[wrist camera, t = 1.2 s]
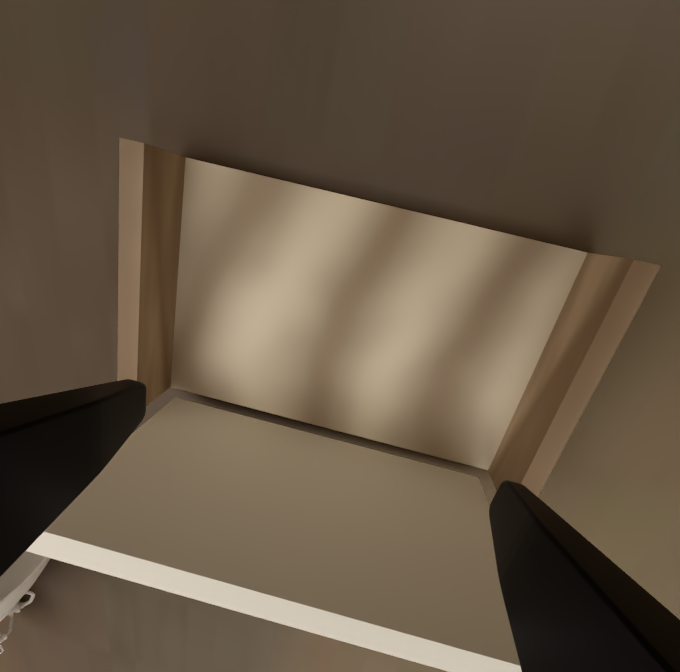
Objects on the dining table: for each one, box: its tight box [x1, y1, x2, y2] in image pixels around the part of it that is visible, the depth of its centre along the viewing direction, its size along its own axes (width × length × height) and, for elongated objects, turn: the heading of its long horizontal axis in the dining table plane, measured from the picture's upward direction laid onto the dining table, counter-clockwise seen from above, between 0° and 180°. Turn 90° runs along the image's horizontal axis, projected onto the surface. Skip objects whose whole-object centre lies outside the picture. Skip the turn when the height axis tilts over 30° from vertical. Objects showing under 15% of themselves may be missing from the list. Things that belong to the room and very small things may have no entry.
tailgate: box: [26, 397, 522, 672], centre depth 16 cm, size 18×2×9 cm, turn 77°
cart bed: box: [118, 138, 661, 497], centre depth 17 cm, size 21×12×4 cm, turn 77°
